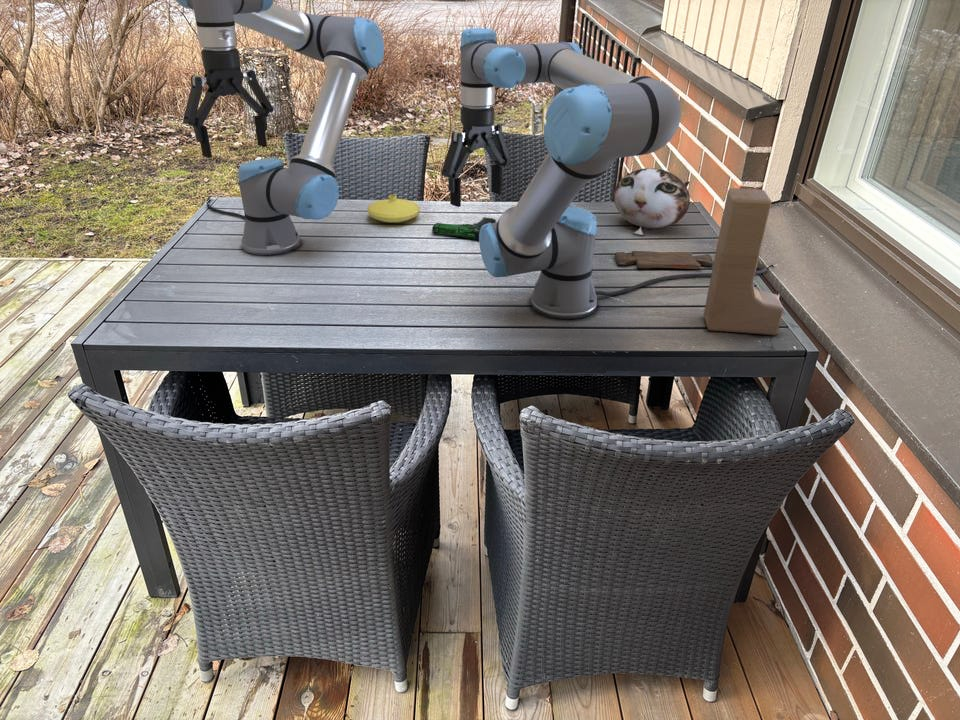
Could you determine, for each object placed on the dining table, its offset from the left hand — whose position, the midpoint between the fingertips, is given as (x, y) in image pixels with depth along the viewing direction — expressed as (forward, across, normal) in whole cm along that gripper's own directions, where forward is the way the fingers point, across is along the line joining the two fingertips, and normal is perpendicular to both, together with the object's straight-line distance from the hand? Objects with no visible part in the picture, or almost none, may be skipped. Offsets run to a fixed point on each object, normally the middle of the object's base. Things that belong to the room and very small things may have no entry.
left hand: (235, 151), depth 159 cm
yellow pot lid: (+32, +54, +12) cm, 64 cm away
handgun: (+32, +62, -11) cm, 71 cm away
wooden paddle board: (+32, +83, -64) cm, 110 cm away
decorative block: (+32, +64, -95) cm, 119 cm away
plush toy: (+32, +103, -46) cm, 118 cm away
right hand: (+11, +40, -36) cm, 55 cm away
